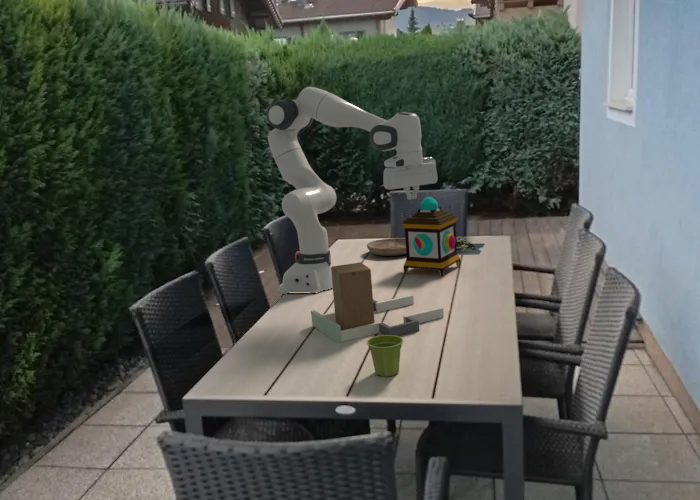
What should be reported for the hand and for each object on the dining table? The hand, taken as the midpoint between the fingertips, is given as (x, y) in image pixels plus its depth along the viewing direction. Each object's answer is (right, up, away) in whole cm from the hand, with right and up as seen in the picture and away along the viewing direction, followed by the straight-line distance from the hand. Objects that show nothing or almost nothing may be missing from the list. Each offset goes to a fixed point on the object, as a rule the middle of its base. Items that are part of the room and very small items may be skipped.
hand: (412, 199), depth 240 cm
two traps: (-12, -40, -21) cm, 47 cm away
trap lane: (-12, -40, -21) cm, 47 cm away
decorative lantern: (+12, -26, +37) cm, 47 cm away
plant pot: (-12, -50, -62) cm, 80 cm away
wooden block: (-20, -43, -27) cm, 55 cm away
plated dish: (+24, -18, +71) cm, 77 cm away
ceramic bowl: (-2, -20, +72) cm, 75 cm away
